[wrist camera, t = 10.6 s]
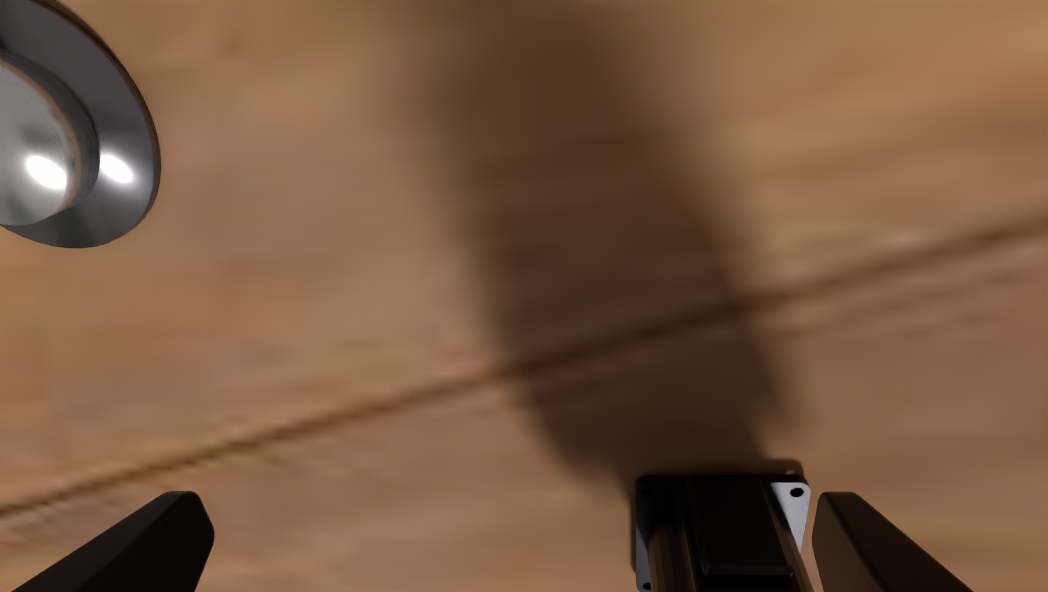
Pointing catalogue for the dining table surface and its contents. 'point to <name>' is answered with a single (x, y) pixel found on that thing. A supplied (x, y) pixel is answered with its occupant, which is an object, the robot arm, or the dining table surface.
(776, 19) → the dining table surface
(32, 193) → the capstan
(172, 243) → the dining table surface
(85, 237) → the foot base
